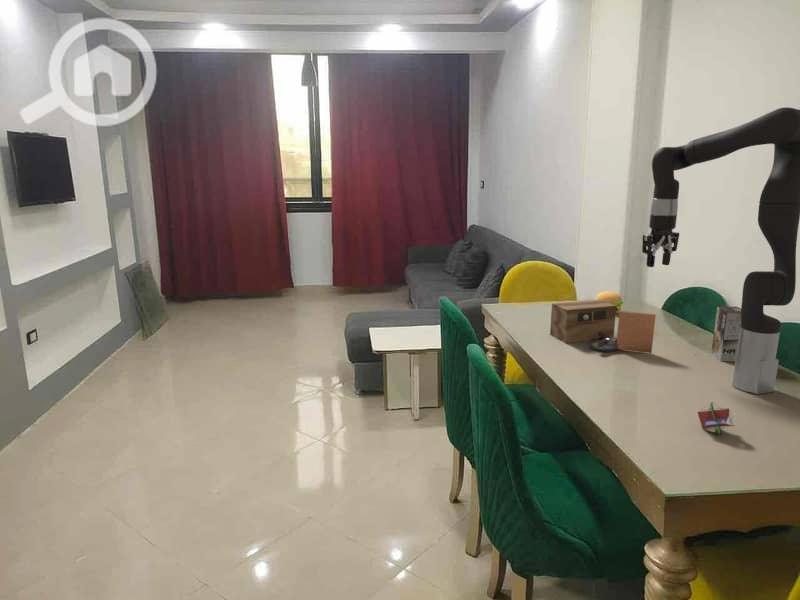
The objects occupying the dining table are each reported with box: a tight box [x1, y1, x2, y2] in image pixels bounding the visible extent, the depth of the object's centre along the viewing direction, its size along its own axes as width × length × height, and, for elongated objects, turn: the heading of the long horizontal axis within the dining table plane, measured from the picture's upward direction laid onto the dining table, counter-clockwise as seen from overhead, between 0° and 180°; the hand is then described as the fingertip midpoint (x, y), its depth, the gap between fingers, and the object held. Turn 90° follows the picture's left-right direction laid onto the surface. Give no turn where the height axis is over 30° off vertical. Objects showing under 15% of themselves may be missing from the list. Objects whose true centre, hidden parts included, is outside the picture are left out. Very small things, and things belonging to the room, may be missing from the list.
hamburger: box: [593, 290, 624, 314], centre depth 236 cm, size 12×12×9 cm
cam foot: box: [589, 310, 657, 354], centre depth 187 cm, size 20×14×13 cm
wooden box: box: [549, 299, 616, 344], centre depth 201 cm, size 12×20×12 cm, turn 106°
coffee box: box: [711, 305, 741, 363], centre depth 179 cm, size 9×6×16 cm
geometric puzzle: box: [697, 401, 735, 437], centre depth 131 cm, size 7×7×8 cm
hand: (657, 265), depth 177 cm, fingers open, 6 cm apart
